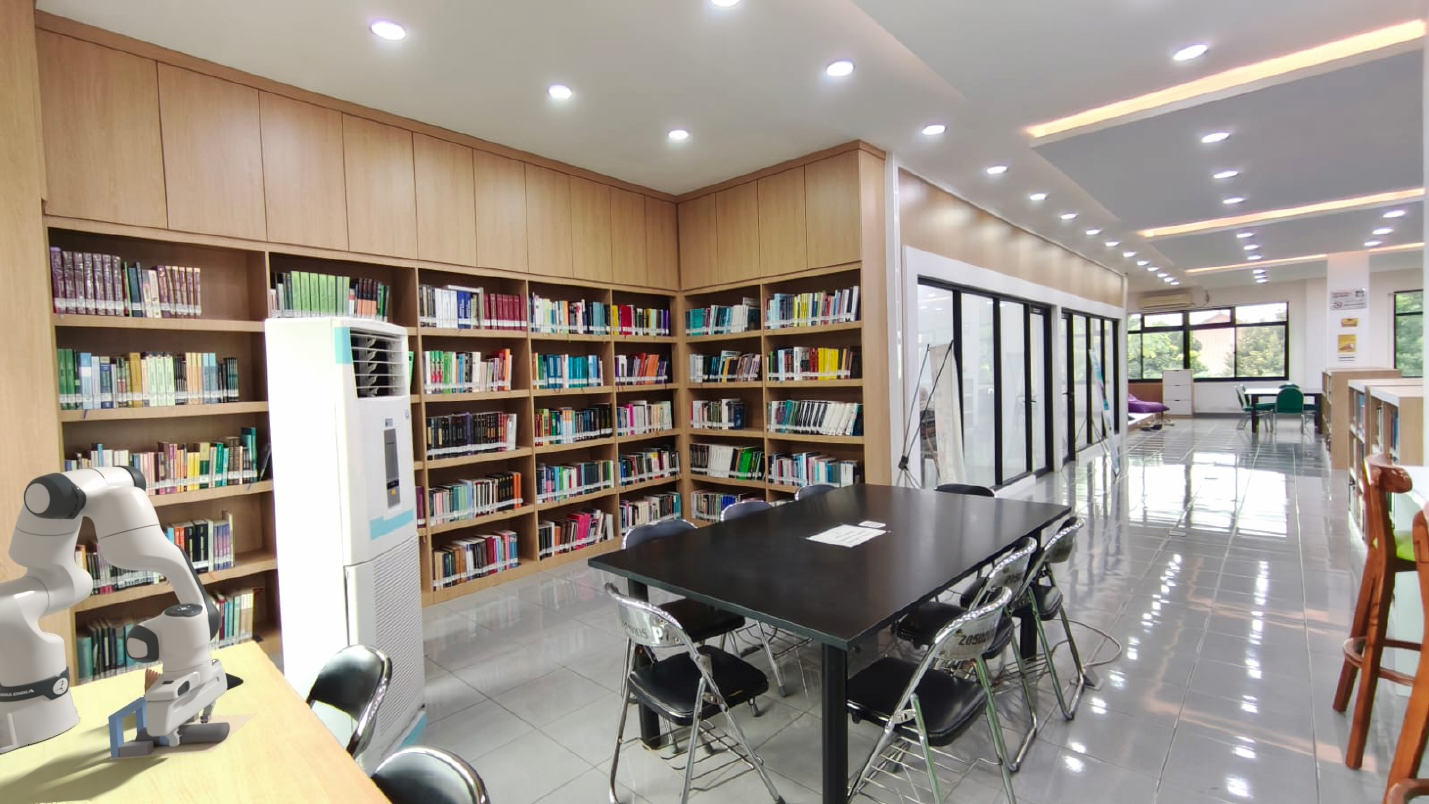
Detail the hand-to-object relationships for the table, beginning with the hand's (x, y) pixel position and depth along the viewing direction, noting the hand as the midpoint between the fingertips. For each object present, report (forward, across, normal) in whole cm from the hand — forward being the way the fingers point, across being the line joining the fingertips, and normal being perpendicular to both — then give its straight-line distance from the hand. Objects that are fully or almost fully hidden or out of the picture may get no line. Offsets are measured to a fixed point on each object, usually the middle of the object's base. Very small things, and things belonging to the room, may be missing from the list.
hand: (191, 732), depth 147 cm
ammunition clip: (+4, -16, -20) cm, 25 cm away
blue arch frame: (+3, 0, -14) cm, 14 cm away
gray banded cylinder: (+2, 0, -2) cm, 3 cm away
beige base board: (+3, -4, -4) cm, 6 cm away
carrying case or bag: (+4, -29, -16) cm, 33 cm away
